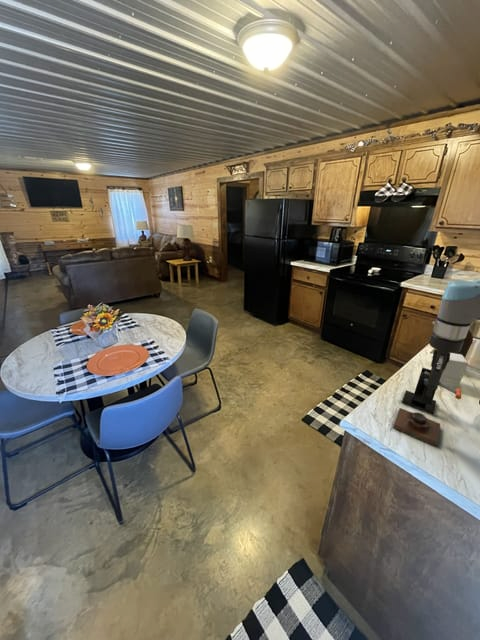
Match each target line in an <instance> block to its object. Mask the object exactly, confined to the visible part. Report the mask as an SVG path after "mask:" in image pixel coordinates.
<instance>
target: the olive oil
mask: <svg viewBox="0 0 480 640" xmlns="http://www.w3.org/2000/svg"><path fill="white" fill-rule="evenodd" d="M463 340H464V343H463V345H462V348H461V351H460V352H457V353H454V354H461V355H463V357H464V358H465V359H466V357H467V354H468V353H469V350H470V348H471V346H472V344H473V343H474V334H473V333H472V332H471V330H470V328H469V329H468V332H467V335H466V338H464V339H463Z"/></svg>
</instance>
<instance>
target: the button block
mask: <svg viewBox="0 0 480 640" xmlns="http://www.w3.org/2000/svg"><path fill="white" fill-rule="evenodd" d="M414 413H415V412H413V411H409V410H407V409H404V408H401V407H399V409H398V411H397V414H396V416H395V420H394V422H393V425H392V428H393V429H396V430H398V431H399V432H402V433H405V434H407V435H409V436H411V437H413V438H416V439H418V440H420V441H423V442H424V443H427V444H429V445H432V446H434V447H437V446H438V443H439V437H440V428H441V423H440V422H437V421H436V420H435V421H434V420H432V419H430V418H427V417H426V421H425V424H419V423H416V422H415V421H413V419H412V417H413V414H414Z"/></svg>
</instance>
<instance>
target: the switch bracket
mask: <svg viewBox="0 0 480 640" xmlns="http://www.w3.org/2000/svg"><path fill="white" fill-rule="evenodd" d="M425 371H427V372H429V373H430V371H431V369H429V368H426V367H422V368H421V371H420V374H419V377H418V380H417V383H416V387H415V390H414V392H413V391H409V390H405V392H404V395H403V398H402V400H401V404H404V405H406V406H409V407H411V408H413V409H417V410H419V411H422V412H425V413H427V414H430V415H432V416H433V415H435V411H436V404H437V400H435V399H433V401H432V404H431V405H430V404H427V403H424V402H421V399H422V396H423V393H424V390H425V387H426V385H424V382H426V383H428V381H427V380H428V379H429V374H426V373H424V372H425Z"/></svg>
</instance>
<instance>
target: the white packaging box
mask: <svg viewBox="0 0 480 640" xmlns="http://www.w3.org/2000/svg"><path fill="white" fill-rule="evenodd" d="M468 364H469V363H468V361H467V360H466V357H465V358H464V357H463V355H461V354H454V353H451V354H450V360H449V362H448V363H447V365H446V368H445V370H443V373H442V376H441V378H440V382H442V383H444V384H446V385H448V386H449V387H451V388H453V389H455V390H456V389H457V388H459V387H460V384H461V382H462V380H463V376H464V375H465V372H466V369H467V366H468Z"/></svg>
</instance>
